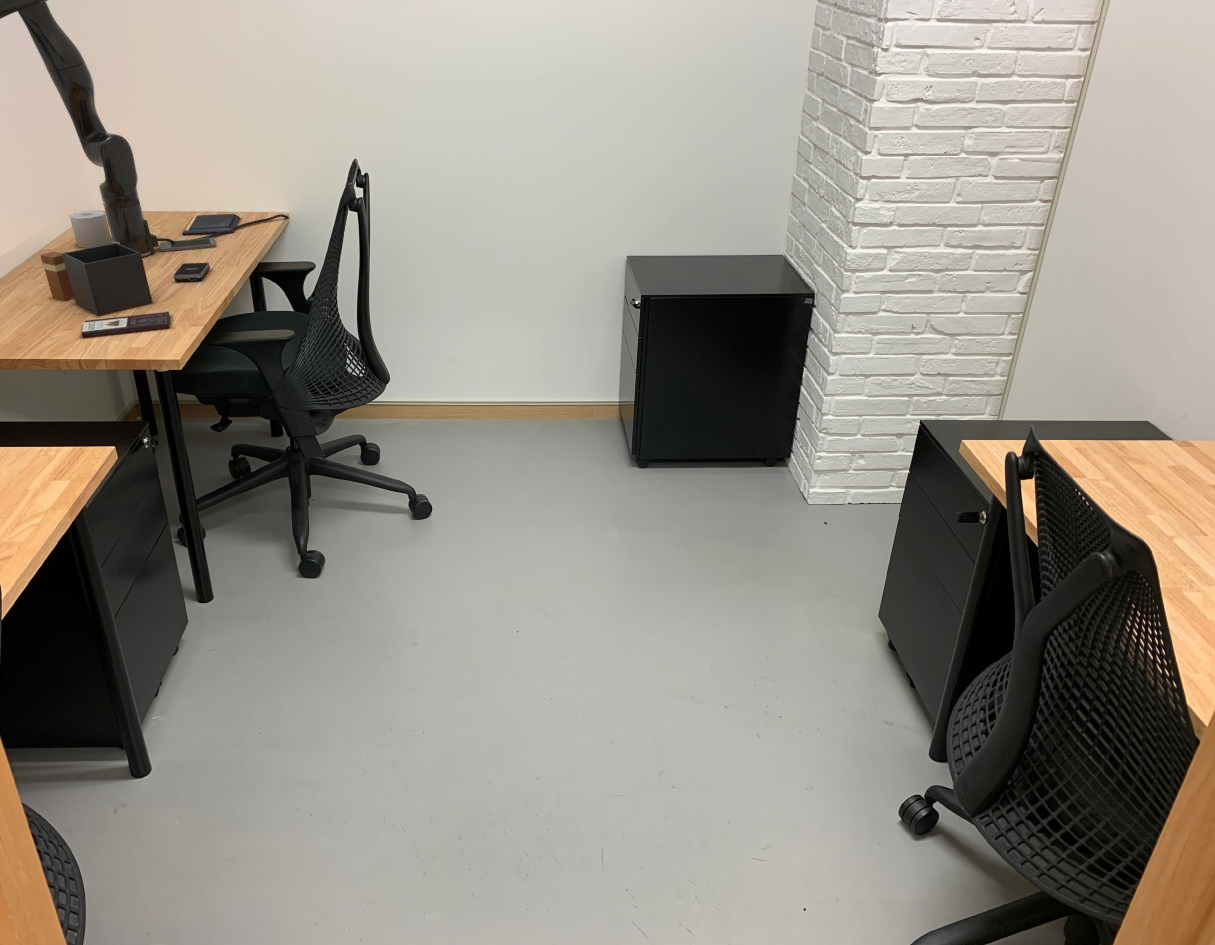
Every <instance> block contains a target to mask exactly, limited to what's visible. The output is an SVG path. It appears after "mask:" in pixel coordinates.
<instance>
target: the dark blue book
mask: <svg viewBox="0 0 1215 945" xmlns="http://www.w3.org/2000/svg"><path fill="white" fill-rule="evenodd" d="M239 221H240V215H237V214H236V213H222V214H220V213H219V214H218V213H217V214H200V215H196V216H193V217H192V218H191V219H190V221H189V222H188V224H187V225H186V227H185V228H184V230H183V232H182V236H203V235H204V236H205V235H212V234H215V233H219V232H222V231H224V230H226V233H224V234H223V235H225V234H233V233H234V232H235V230H234V229H232V228H233V227H236V226H238V223H239Z"/></svg>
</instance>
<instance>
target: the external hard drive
mask: <svg viewBox="0 0 1215 945" xmlns="http://www.w3.org/2000/svg"><path fill="white" fill-rule="evenodd" d="M210 269H211V266H210V263H209V262H183V263H182V264H181V265H180V266H179V267H178V268H177V270H176V271H175V272H174V274H173V279H174V281H175V282H176V283H177V282H182V283H183V282H200V281H202V280H203V279H204V277H206V275H207V274H208V272H209V270H210Z"/></svg>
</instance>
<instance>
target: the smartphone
mask: <svg viewBox="0 0 1215 945" xmlns="http://www.w3.org/2000/svg"><path fill="white" fill-rule="evenodd" d="M192 239H193V238H192ZM192 239H191V238H190V239H180V240H179V239H178V240H176V241H177V242H175V243H171V242H168V241H159V249H160V252H172V251H181V250H192V249H193V250H194V249H203V248H213V247H216V243H215V237H212V238H201V239H196V238H194V239H195V240H192Z"/></svg>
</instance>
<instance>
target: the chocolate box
mask: <svg viewBox="0 0 1215 945" xmlns="http://www.w3.org/2000/svg"><path fill="white" fill-rule="evenodd" d="M62 253H63V252H58V251H49V252H46V253H42V254H40V259H41V262H42V266H43V270H44V272H45V276H46V279H47V282H48V286H49V290H50V293H51V296H52V299H55V300H59V301H65V302H66V301H69V300H72V299H74V295H73V292H72V288H71V285H70V281H69V278H68V274H67V271H66V267H65V264H64V260H63V256H62Z"/></svg>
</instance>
